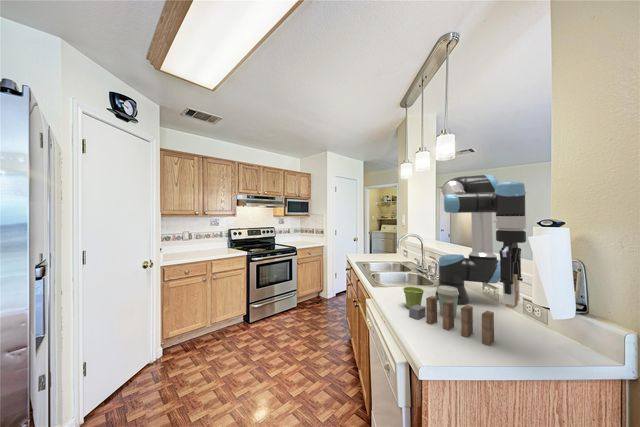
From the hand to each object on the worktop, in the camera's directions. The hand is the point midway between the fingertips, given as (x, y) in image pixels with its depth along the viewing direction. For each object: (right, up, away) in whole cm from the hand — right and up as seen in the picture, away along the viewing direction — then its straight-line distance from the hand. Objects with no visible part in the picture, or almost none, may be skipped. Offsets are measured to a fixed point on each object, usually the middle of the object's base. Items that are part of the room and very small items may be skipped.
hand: (511, 301), depth 74 cm
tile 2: (-4, -16, +5) cm, 17 cm away
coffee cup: (-5, -16, +27) cm, 32 cm away
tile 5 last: (-16, -16, +21) cm, 30 cm away
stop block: (-19, -16, +26) cm, 36 cm away
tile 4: (-12, -16, +15) cm, 25 cm away
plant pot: (-17, -17, +36) cm, 43 cm away
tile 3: (-8, -16, +10) cm, 20 cm away
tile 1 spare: (0, -1, 0) cm, 1 cm away
